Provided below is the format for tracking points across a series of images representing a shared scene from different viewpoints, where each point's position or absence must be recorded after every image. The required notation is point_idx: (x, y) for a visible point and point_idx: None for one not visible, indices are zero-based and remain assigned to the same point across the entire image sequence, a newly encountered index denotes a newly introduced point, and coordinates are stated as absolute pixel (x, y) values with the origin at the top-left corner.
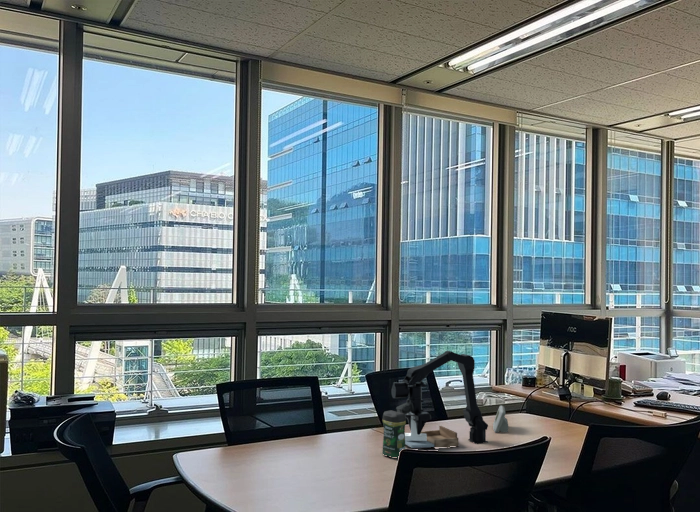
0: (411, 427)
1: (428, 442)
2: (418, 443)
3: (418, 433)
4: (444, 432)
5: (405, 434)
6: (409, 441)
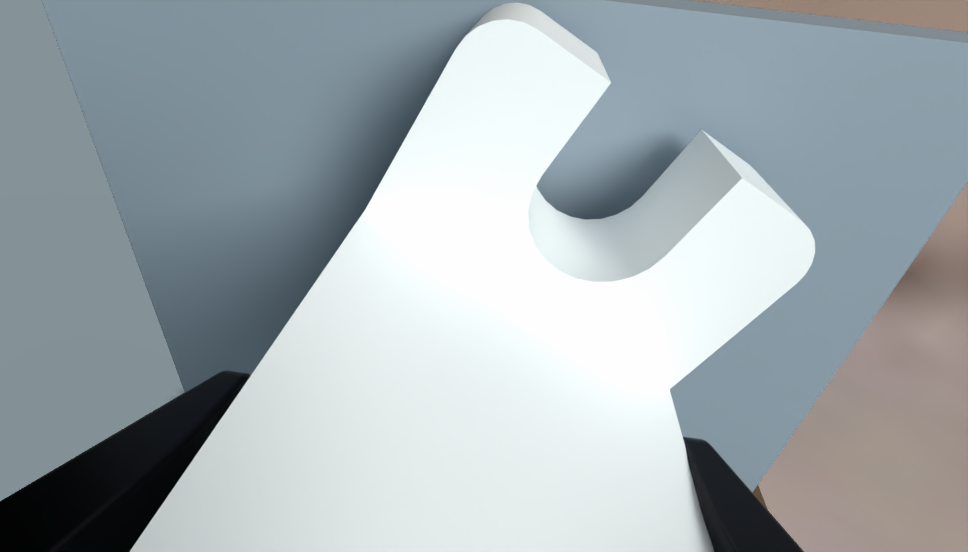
0: (217, 430)
1: None
2: (247, 223)
3: (202, 399)
4: None
5: (697, 207)
6: None
